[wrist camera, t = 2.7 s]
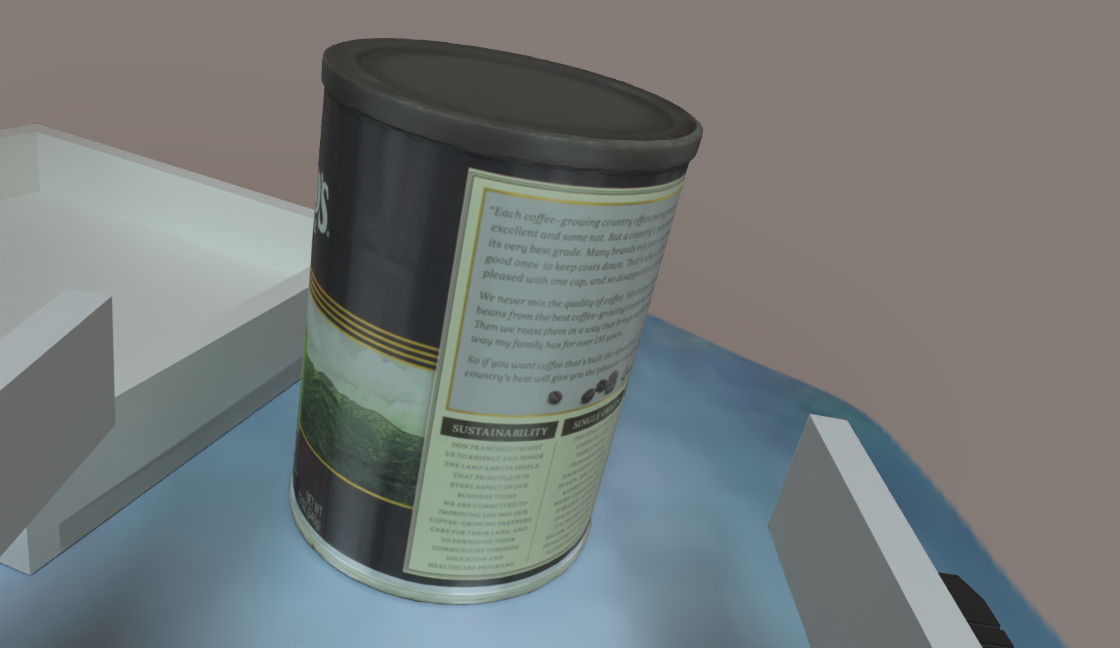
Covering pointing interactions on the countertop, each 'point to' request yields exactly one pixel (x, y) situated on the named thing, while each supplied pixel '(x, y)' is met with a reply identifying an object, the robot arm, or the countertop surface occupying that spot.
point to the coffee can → (473, 310)
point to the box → (150, 306)
